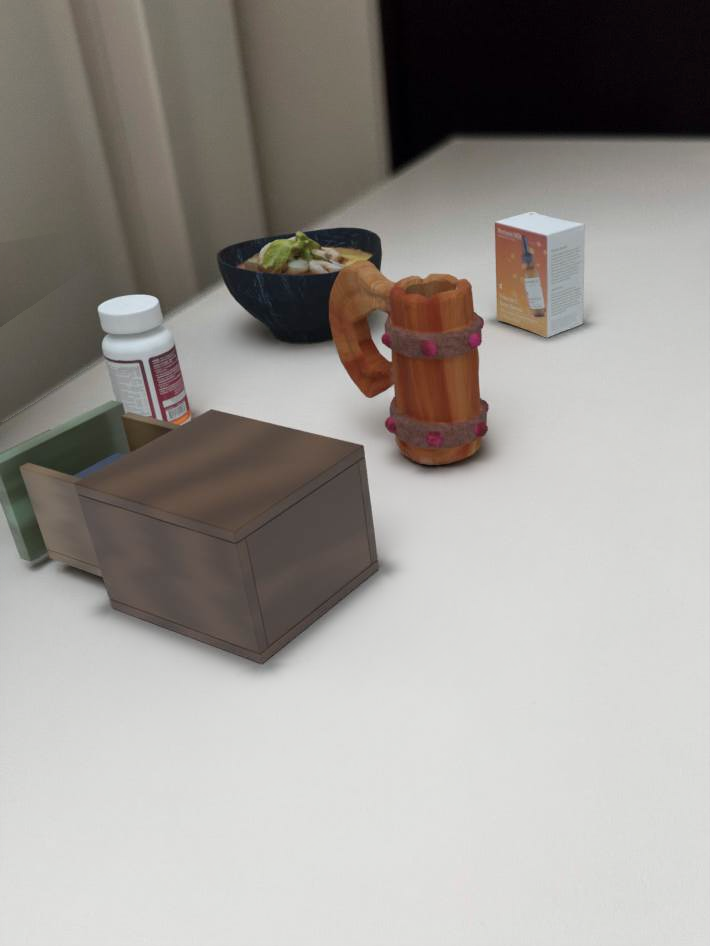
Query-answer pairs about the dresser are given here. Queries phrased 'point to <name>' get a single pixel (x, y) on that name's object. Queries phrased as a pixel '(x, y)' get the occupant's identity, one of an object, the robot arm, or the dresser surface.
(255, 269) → the bowl
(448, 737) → the dresser surface
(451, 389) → the mug
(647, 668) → the dresser surface
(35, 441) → the drawer
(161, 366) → the pill bottle
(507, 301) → the small box
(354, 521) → the cabinet
